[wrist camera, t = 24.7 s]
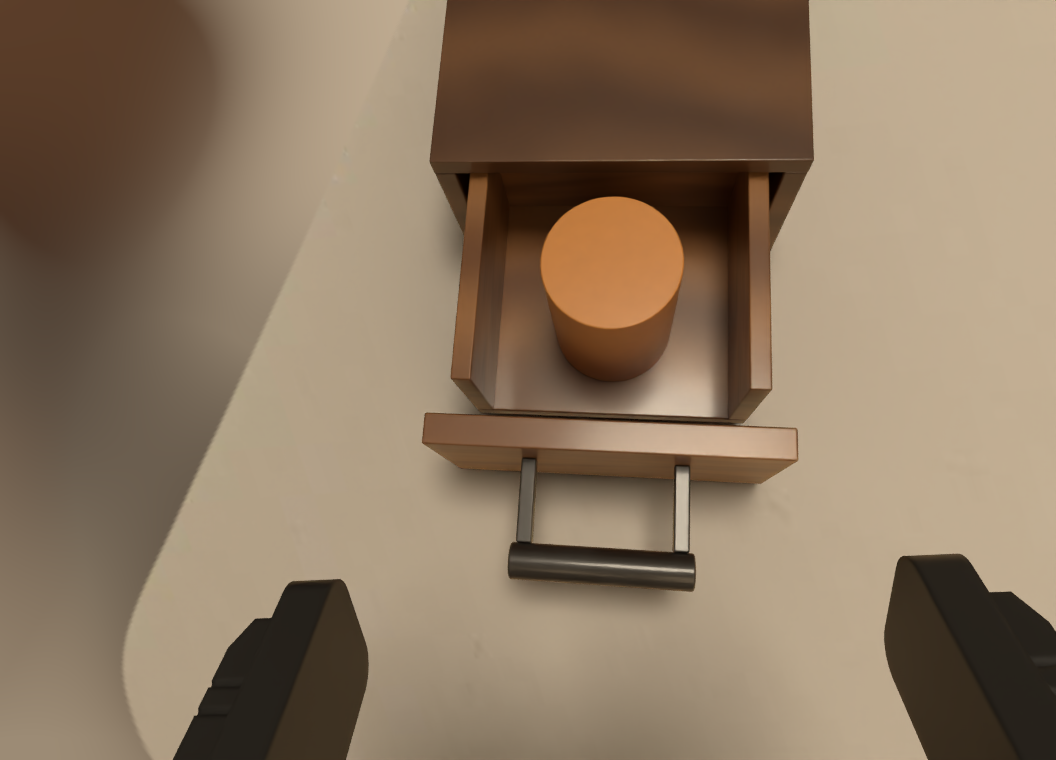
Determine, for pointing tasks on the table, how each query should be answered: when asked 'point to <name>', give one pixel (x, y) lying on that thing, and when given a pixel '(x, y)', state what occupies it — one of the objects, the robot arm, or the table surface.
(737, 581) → the table surface
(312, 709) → the robot arm
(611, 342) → the orange cylinder
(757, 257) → the drawer
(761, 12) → the cabinet
